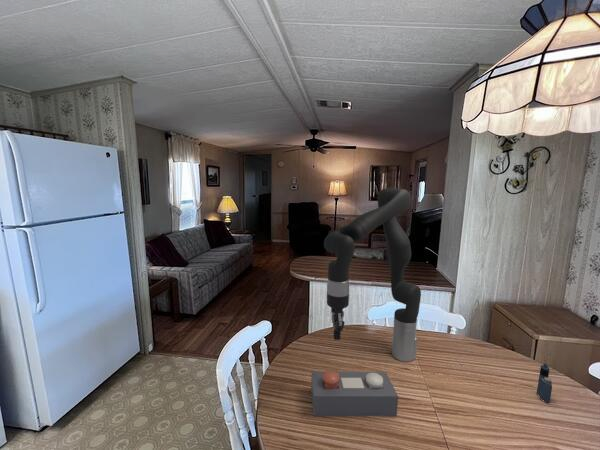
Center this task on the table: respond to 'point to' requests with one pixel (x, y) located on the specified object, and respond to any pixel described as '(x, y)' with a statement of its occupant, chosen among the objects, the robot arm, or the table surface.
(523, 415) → the table surface
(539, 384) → the vaping device
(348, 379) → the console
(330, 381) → the red plunger
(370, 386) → the white plunger
